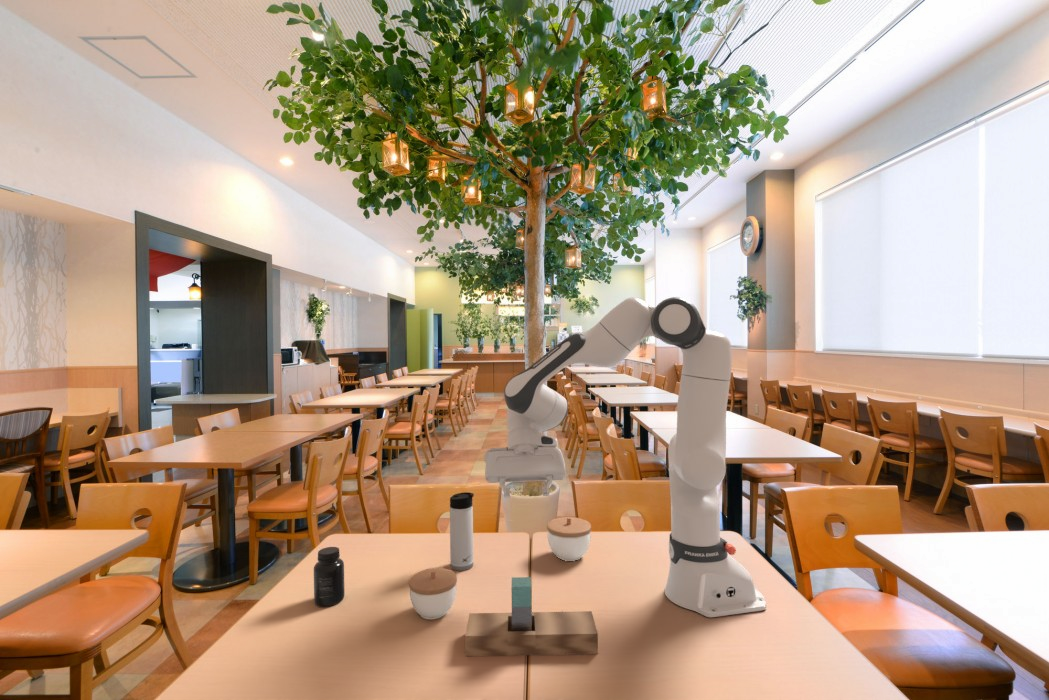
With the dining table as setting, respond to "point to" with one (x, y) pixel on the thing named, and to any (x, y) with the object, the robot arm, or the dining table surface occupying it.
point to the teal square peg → (521, 604)
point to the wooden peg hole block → (531, 634)
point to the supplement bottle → (328, 577)
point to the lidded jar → (433, 592)
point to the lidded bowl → (569, 537)
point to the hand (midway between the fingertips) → (526, 495)
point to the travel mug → (461, 531)
